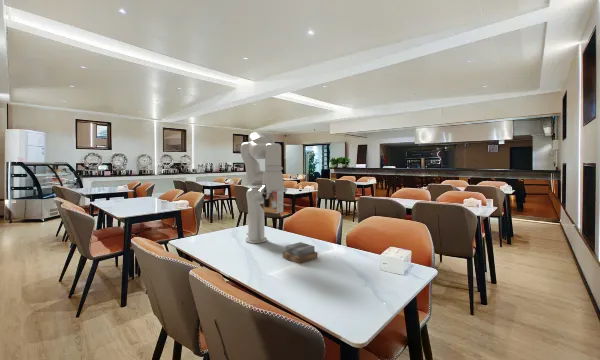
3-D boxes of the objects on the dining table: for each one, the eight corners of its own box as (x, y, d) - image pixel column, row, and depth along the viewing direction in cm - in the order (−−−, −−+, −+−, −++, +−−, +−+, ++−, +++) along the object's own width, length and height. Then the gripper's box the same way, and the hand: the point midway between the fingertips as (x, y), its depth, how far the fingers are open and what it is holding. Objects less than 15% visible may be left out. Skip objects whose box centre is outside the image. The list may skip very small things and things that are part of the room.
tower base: (282, 257, 144) (282, 245, 143) (300, 252, 152) (300, 241, 151) (299, 264, 135) (299, 251, 134) (317, 258, 143) (317, 246, 142)
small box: (263, 212, 141) (263, 190, 140) (270, 210, 146) (269, 189, 145) (277, 213, 137) (277, 191, 136) (283, 211, 142) (283, 190, 141)
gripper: (283, 168, 148) (283, 203, 150) (253, 169, 137) (253, 207, 138) (292, 169, 143) (292, 205, 144) (262, 170, 131) (262, 209, 133)
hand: (273, 206), depth 141 cm, fingers closed on small box, 7 cm apart
